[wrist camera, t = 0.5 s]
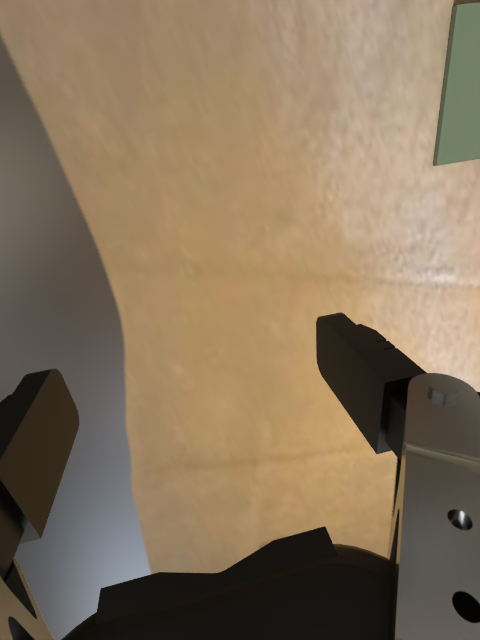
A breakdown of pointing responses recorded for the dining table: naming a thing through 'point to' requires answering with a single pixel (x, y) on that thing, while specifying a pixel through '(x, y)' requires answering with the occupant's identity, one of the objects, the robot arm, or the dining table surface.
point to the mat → (460, 90)
